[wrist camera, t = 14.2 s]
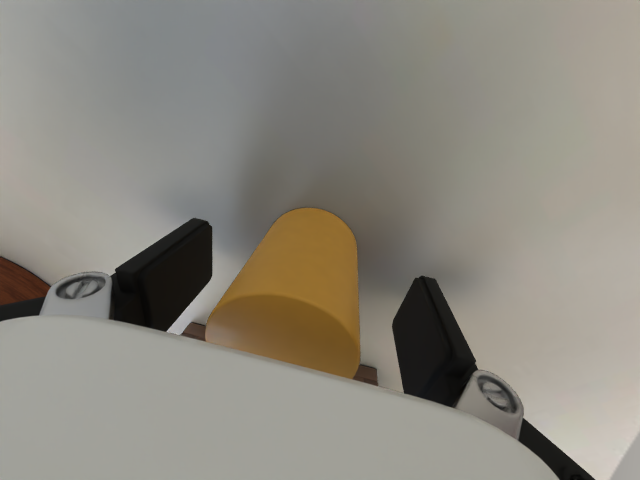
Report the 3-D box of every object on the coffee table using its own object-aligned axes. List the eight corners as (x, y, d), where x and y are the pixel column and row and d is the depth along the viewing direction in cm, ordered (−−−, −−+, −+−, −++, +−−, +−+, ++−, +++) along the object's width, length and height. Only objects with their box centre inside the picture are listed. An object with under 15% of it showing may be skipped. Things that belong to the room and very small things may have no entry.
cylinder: (291, 188, 11) (235, 262, 6) (376, 238, 12) (395, 346, 6) (253, 259, 13) (186, 360, 8) (326, 298, 14) (310, 416, 8)
